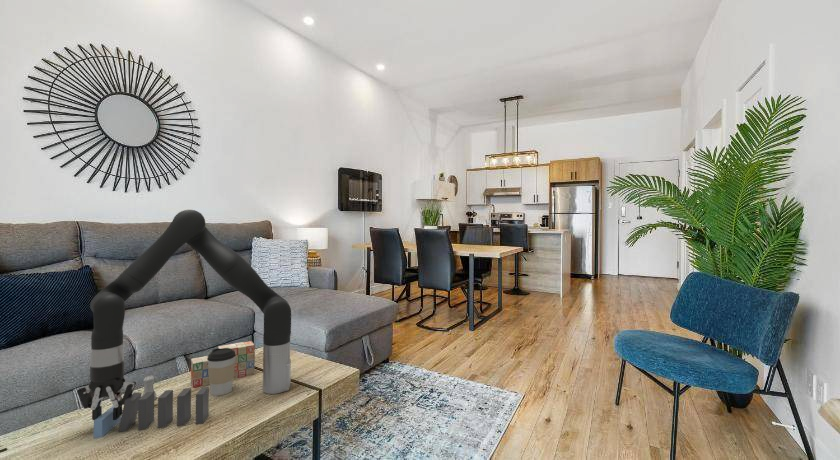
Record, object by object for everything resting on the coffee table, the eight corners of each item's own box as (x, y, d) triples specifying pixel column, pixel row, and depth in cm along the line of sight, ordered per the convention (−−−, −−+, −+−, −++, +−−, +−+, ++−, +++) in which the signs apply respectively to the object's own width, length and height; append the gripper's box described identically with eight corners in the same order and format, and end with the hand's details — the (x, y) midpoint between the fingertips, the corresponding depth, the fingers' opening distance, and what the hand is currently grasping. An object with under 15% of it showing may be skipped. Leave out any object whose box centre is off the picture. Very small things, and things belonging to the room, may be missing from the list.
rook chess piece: (147, 404, 119) (148, 380, 119) (137, 402, 120) (137, 379, 120) (160, 397, 124) (160, 374, 124) (149, 396, 125) (149, 373, 125)
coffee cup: (241, 387, 132) (241, 347, 132) (220, 398, 123) (220, 355, 123) (222, 384, 135) (222, 344, 135) (200, 394, 126) (201, 352, 126)
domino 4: (190, 416, 112) (191, 388, 112) (184, 425, 107) (184, 395, 107) (183, 417, 111) (183, 388, 111) (176, 426, 106) (177, 396, 106)
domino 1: (135, 422, 108) (141, 393, 108) (126, 431, 103) (132, 400, 104) (127, 422, 108) (134, 392, 108) (118, 431, 103) (125, 400, 103)
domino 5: (208, 415, 113) (208, 386, 113) (203, 423, 108) (203, 393, 108) (201, 415, 112) (201, 387, 112) (195, 424, 107) (195, 394, 107)
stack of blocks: (192, 388, 131) (192, 355, 131) (190, 382, 136) (190, 350, 136) (254, 374, 144) (255, 344, 144) (251, 369, 149) (251, 340, 149)
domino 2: (154, 420, 109) (154, 391, 109) (145, 429, 104) (146, 399, 104) (146, 421, 109) (146, 392, 109) (138, 430, 104) (138, 399, 104)
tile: (121, 404, 109) (102, 420, 100) (120, 420, 109) (102, 437, 100) (113, 405, 109) (93, 420, 100) (113, 421, 109) (93, 438, 100)
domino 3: (172, 418, 110) (173, 389, 110) (165, 427, 106) (165, 397, 106) (165, 419, 110) (165, 390, 110) (157, 428, 105) (157, 397, 105)
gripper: (142, 354, 109) (142, 410, 110) (87, 358, 106) (86, 416, 106) (128, 364, 102) (128, 423, 102) (68, 368, 99) (68, 429, 99)
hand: (107, 419), depth 104 cm, fingers open, 4 cm apart
